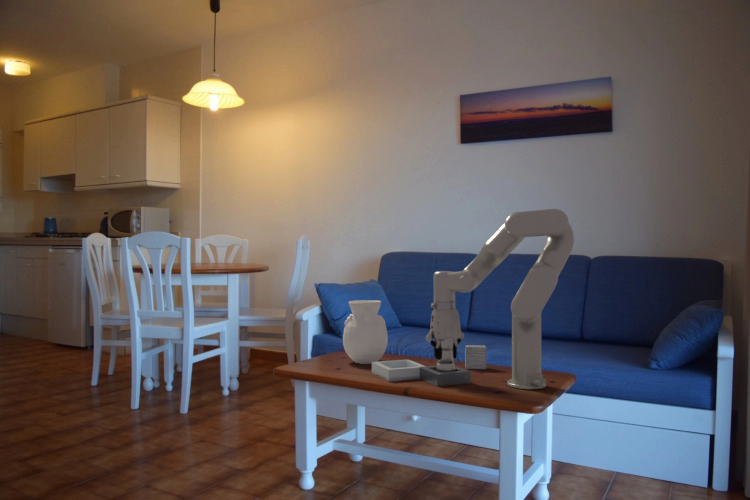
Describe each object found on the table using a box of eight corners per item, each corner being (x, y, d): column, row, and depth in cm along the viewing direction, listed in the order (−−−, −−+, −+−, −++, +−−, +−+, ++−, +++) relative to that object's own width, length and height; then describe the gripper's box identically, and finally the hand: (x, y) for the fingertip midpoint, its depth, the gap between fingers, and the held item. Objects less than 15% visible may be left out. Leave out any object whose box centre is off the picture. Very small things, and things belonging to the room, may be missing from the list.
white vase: (342, 358, 246) (342, 299, 246) (385, 357, 247) (385, 299, 247) (343, 366, 227) (343, 303, 227) (390, 366, 229) (390, 302, 229)
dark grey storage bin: (470, 383, 198) (470, 371, 198) (437, 386, 193) (437, 374, 193) (450, 375, 211) (450, 364, 211) (418, 378, 206) (418, 366, 206)
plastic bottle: (456, 378, 199) (456, 320, 199) (437, 378, 199) (436, 320, 199) (454, 374, 205) (453, 318, 205) (435, 374, 205) (434, 318, 206)
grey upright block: (485, 367, 226) (485, 345, 226) (486, 369, 222) (486, 347, 222) (465, 367, 227) (464, 345, 227) (465, 369, 222) (465, 346, 222)
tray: (427, 378, 206) (427, 366, 206) (388, 381, 201) (388, 369, 201) (408, 369, 221) (408, 359, 221) (371, 372, 216) (371, 362, 216)
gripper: (427, 308, 196) (428, 362, 195) (471, 306, 202) (472, 358, 202) (417, 306, 203) (418, 358, 202) (460, 304, 209) (461, 355, 209)
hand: (445, 357), depth 202 cm, fingers closed on plastic bottle, 5 cm apart
